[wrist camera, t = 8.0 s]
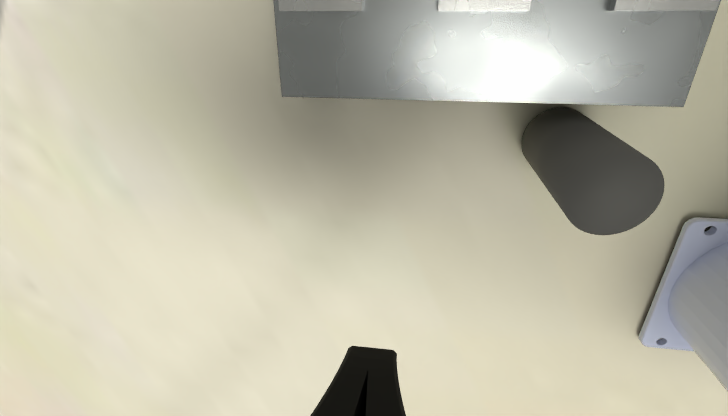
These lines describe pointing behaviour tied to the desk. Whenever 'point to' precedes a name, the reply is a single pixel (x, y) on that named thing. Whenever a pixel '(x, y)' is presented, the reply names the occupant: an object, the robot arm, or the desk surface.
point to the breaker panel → (493, 50)
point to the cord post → (592, 172)
